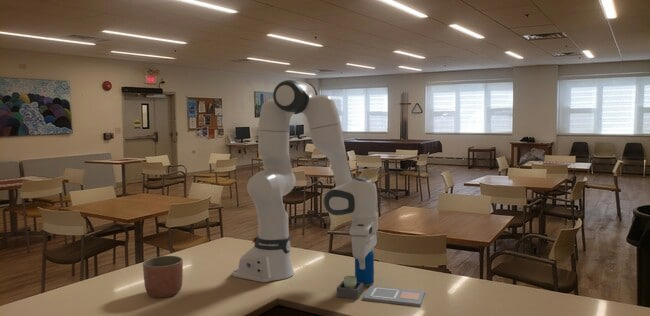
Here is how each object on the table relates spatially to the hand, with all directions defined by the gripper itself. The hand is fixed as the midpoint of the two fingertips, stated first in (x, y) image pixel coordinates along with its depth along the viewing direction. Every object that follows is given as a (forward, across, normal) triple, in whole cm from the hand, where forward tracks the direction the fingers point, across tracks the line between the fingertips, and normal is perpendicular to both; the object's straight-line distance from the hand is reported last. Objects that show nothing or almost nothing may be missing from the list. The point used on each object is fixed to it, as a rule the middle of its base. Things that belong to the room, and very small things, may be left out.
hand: (366, 264), depth 163 cm
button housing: (+7, +11, -3) cm, 13 cm away
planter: (+6, +28, -62) cm, 68 cm away
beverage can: (+7, 0, -1) cm, 7 cm away
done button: (+5, +11, -3) cm, 12 cm away
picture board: (+7, +9, +11) cm, 16 cm away
